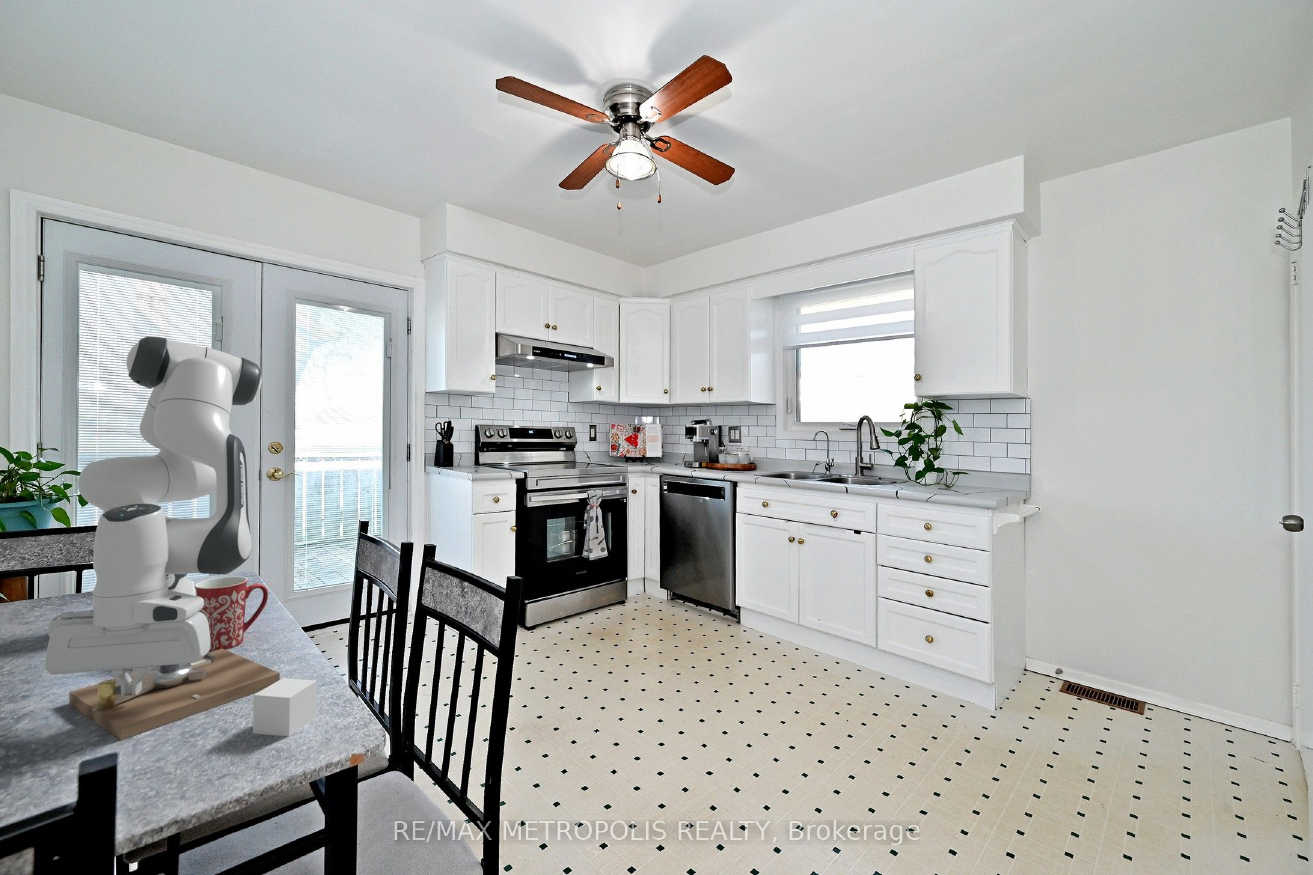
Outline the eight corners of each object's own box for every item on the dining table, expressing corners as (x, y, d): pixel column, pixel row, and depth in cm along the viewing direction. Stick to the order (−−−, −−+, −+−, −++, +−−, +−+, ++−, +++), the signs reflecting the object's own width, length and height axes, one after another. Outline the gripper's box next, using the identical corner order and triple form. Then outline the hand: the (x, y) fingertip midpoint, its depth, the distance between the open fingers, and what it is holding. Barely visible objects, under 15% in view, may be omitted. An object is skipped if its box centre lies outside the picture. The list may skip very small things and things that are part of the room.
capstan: (166, 670, 103) (166, 642, 102) (208, 676, 101) (208, 648, 100) (76, 705, 89) (76, 673, 89) (122, 712, 87) (123, 680, 87)
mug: (195, 657, 114) (195, 590, 114) (192, 643, 121) (193, 580, 121) (270, 642, 123) (271, 579, 122) (264, 630, 129) (265, 571, 129)
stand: (64, 703, 95) (64, 676, 95) (220, 657, 114) (220, 635, 114) (118, 741, 84) (118, 711, 84) (279, 683, 103) (279, 659, 103)
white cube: (282, 714, 93) (283, 677, 93) (316, 717, 92) (317, 680, 92) (252, 733, 87) (253, 694, 87) (289, 736, 86) (289, 697, 86)
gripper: (33, 619, 85) (33, 711, 85) (197, 608, 91) (196, 695, 91) (63, 606, 91) (63, 692, 91) (215, 597, 97) (214, 678, 97)
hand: (131, 693), depth 91 cm, fingers closed
